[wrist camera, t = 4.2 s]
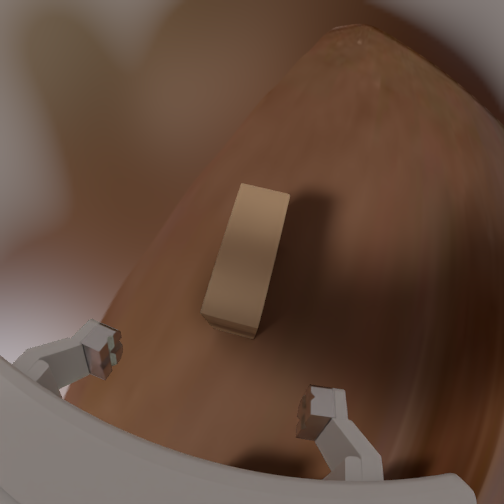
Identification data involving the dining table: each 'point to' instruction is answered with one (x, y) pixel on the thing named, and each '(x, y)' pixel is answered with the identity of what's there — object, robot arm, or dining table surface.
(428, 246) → the dining table surface
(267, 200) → the cross-piece
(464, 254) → the dining table surface
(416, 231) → the dining table surface
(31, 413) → the robot arm
